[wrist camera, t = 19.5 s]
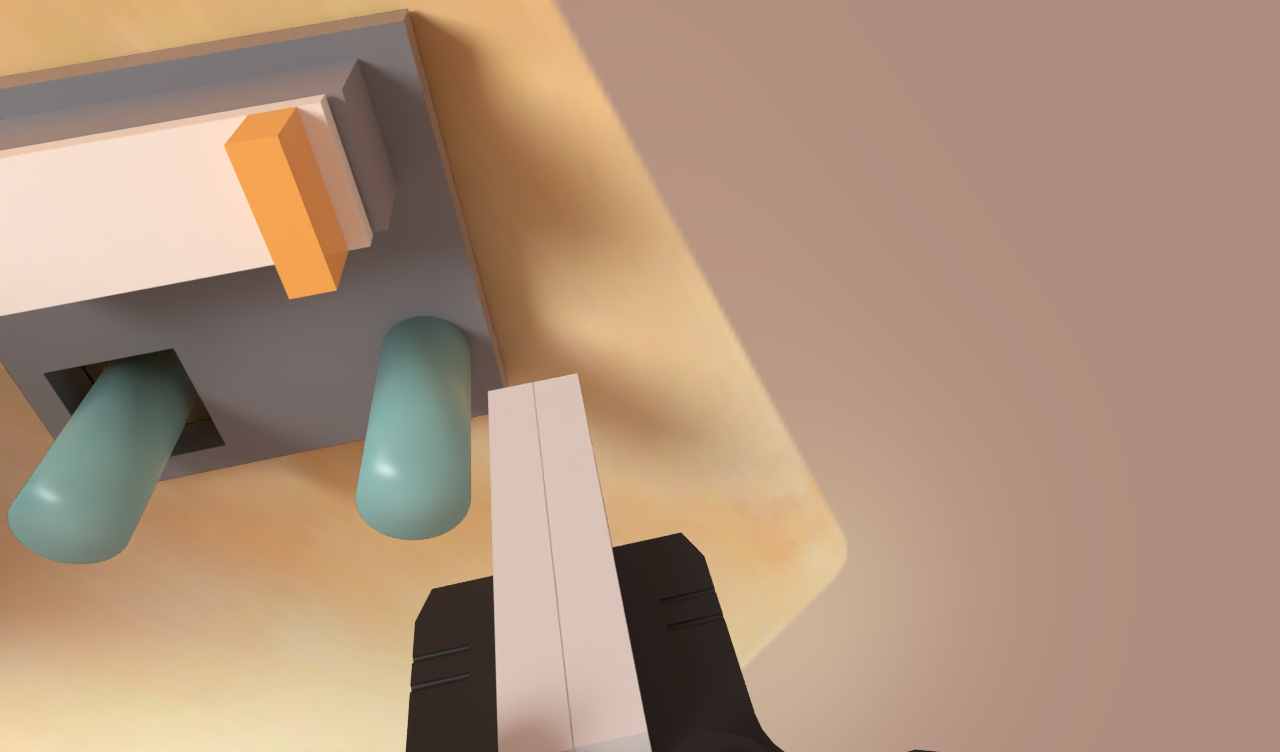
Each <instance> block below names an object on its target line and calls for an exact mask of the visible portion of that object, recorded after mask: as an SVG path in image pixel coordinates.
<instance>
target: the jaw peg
mask: <svg viewBox="0 0 1280 752" xmlns="http://www.w3.org/2000/svg"><path fill="white" fill-rule="evenodd" d="M198 397H199V394H198V393H197V391H196V389H195V387H194V385H193V383H192V381H191V380H190V378H189V376H188V374H187V372H186V370H185V368H184V367H183V365H182V363H181V361H180V359H179V357H178V355H177V354H176V352H175V350H174V349H173V348H171V349H166V350H161V351H156V352H150V353H145V354H140V355H135V356H130V357H125V358H119V359H114V360H110V361H109V363H108V364H107V366H106V367H105V369H104V370H103V372H102V373H101V375H100V376H99V378H98V379H97V380H96V382H95V383H94V385H93V386H92V388H91V389H90V391H89V392H88V394H87V395H86V396H85V398H84V399H83V401H82V402H81V404H80V405H79V407H78V408H77V410H76V411H75V413H74V414H73V415H72V417H71V418H70V420H69V421H68V423H67V424H66V426H65V427H64V429H63V430H62V431H61V433H60V434H59V436H58V437H57V439H56V440H55V442H54V443H53V445H52V446H51V448H50V449H49V450H48V452H47V453H46V455H45V456H44V458H43V459H42V461H41V462H40V464H39V465H38V467H37V468H36V469H35V471H34V472H33V474H32V475H31V477H30V478H29V480H28V481H27V483H26V484H25V485H24V487H23V488H22V490H21V491H20V493H19V494H18V496H17V497H16V499H15V500H14V502H13V503H12V505H11V506H10V509H9V512H8V523H9V526H10V529H11V531H12V533H13V534H14V536H15V537H16V538H17V539H18V540H19V541H20V542H21V543H22V544H23V545H24V546H25V547H27V548H28V549H30V550H31V551H33V552H35V553H36V554H38V555H41V556H43V557H45V558H48V559H51V560H55V561H58V562H64V563H71V564H90V563H97V562H101V561H105V560H107V559H110V558H112V557H114V556H116V555H117V554H119V553H120V552H121V551H122V550H123V549H124V548H125V547H126V545H127V544H128V542H129V540H130V538H131V536H132V534H133V532H134V530H135V528H136V525H137V523H138V521H139V519H140V517H141V515H142V513H143V511H144V509H145V507H146V505H147V503H148V501H149V499H150V497H151V494H152V492H153V490H154V488H155V486H156V484H157V482H158V480H159V478H160V476H161V474H162V472H163V470H164V468H165V466H166V463H167V461H168V459H169V457H170V455H171V453H172V451H173V449H174V447H175V445H176V443H177V441H178V439H179V437H180V435H181V432H182V430H183V428H184V426H185V424H186V422H187V420H188V418H189V416H190V414H191V412H192V410H193V408H194V406H195V404H196V402H197V399H198Z"/></svg>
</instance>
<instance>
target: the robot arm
mask: <svg viewBox="0 0 1280 752" xmlns="http://www.w3.org/2000/svg"><path fill="white" fill-rule="evenodd" d="M488 412H489V446H490V481H491V516H492V551H493V576H490V577H485V578H480V579H476V580H471V581H467V582H462V583H457V584H453V585H448V586H444V587H439V588H434V589H432V590H431V592H430V594H429V596H428V598H427V600H426V602H425V604H424V606H423V608H422V610H421V612H420V614H419V616H418V618H417V619H416V621H415V631H414V644H413V661H414V663H412V672H411V690H412V692H410V700H409V714H408V728H407V742H406V752H784V751H783V750H781V749H780V748H779V747H777V746H776V745H775V744H774V743H773V742H772V741H771V740H770V738H769V737H768V736H767V735H766V734H765V732H764V731H763V730H762V728H761V726H760V724H759V722H758V719H757V717H756V715H755V713H754V709H753V706H752V703H751V700H750V697H749V694H748V691H747V688H746V685H745V681H744V678H743V675H742V672H741V669H740V666H739V663H738V660H737V657H736V653H735V650H734V647H733V644H732V641H731V638H730V635H729V632H728V629H727V625H726V622H725V619H724V618H723V613H722V610H721V607H720V604H719V601H718V597H717V594H716V593H715V589H714V585H713V582H712V579H711V576H710V573H709V569H708V566H707V563H706V560H705V557H704V555H703V554H702V553H701V552H700V551H699V550H698V549H697V548H696V547H695V546H694V545H693V544H692V543H691V542H690V541H689V540H688V539H687V538H686V537H685V536H684V535H683V534H682V533H677V534H672V535H668V536H663V537H659V538H654V539H649V540H645V541H640V542H636V543H631V544H626V545H622V546H617V547H613V545H612V540H611V535H610V530H609V525H608V520H607V515H606V510H605V505H604V499H603V494H602V490H601V485H600V480H599V475H598V470H597V465H596V461H595V456H594V451H593V446H592V441H591V436H590V432H589V427H588V422H587V417H586V412H585V407H584V403H583V398H582V393H581V388H580V383H579V378H578V374H577V373H576V374H571V375H566V376H561V377H556V378H551V379H546V380H541V381H536V382H531V383H526V384H522V385H517V386H512V387H507V388H502V389H497V390H492V391H488ZM909 752H934V751H924V750H913V751H909Z"/></svg>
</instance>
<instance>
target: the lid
mask: <svg viewBox="0 0 1280 752" xmlns="http://www.w3.org/2000/svg"><path fill="white" fill-rule="evenodd" d="M372 237H373V233H372V230H371V227H370V225H369V222H368V219H367V216H366V213H365V210H364V207H363V204H362V201H361V198H360V195H359V192H358V189H357V186H356V183H355V181H354V178H353V175H352V172H351V169H350V166H349V163H348V160H347V157H346V154H345V151H344V148H343V145H342V142H341V140H340V137H339V134H338V131H337V128H336V125H335V122H334V119H333V116H332V113H331V110H330V107H329V104H328V101H327V98H326V96H325V94H322V95H317V96H311V97H305V98H299V99H294V100H288V101H282V102H277V103H271V104H265V105H259V106H254V107H248V108H242V109H236V110H231V111H225V112H219V113H213V114H208V115H202V116H196V117H190V118H185V119H179V120H173V121H167V122H162V123H156V124H150V125H145V126H139V127H133V128H127V129H122V130H116V131H110V132H104V133H99V134H93V135H87V136H81V137H76V138H70V139H64V140H58V141H53V142H47V143H41V144H35V145H30V146H24V147H18V148H13V149H7V150H1V151H0V316H3V315H9V314H14V313H19V312H25V311H30V310H35V309H41V308H46V307H51V306H57V305H62V304H67V303H73V302H78V301H83V300H89V299H94V298H99V297H105V296H110V295H115V294H120V293H126V292H131V291H136V290H142V289H147V288H152V287H158V286H163V285H168V284H174V283H179V282H184V281H190V280H195V279H200V278H206V277H211V276H216V275H222V274H227V273H232V272H238V271H243V270H248V269H254V268H259V267H264V266H270V265H275V267H276V269H277V272H278V274H279V276H280V279H281V281H282V283H283V286H284V288H285V290H286V293H287V295H288V297H289V299H294V298H299V297H305V296H310V295H315V294H320V293H326V292H331V291H336V290H337V288H338V285H339V282H340V278H341V275H342V271H343V268H344V265H345V261H346V258H347V254H348V251H349V250H355V249H360V248H365V247H370V245H371V241H372Z"/></svg>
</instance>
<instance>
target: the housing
mask: <svg viewBox="0 0 1280 752" xmlns="http://www.w3.org/2000/svg"><path fill="white" fill-rule="evenodd" d="M322 94H325V96H326V98H327V101H328V104H329V107H330V110H331V113H332V116H333V119H334V122H335V125H336V128H337V131H338V134H339V137H340V140H341V142H342V145H343V148H344V151H345V154H346V157H347V160H348V163H349V166H350V169H351V172H352V175H353V178H354V181H355V183H356V186H357V189H358V192H359V195H360V198H361V201H362V204H363V207H364V210H365V213H366V216H367V219H368V222H369V225H370V227H371V230H372V233H373V237H372V241H371V245H370V247H365V248H360V249H355V250H349V251H348V254H347V258H346V261H345V265H344V268H343V271H342V275H341V278H340V282H339V285H338V288H337V290H336V291H331V292H326V293H320V294H315V295H310V296H305V297H299V298H294V299H289V297H288V295H287V293H286V290H285V288H284V286H283V283H282V281H281V279H280V276H279V274H278V272H277V269H276V267H275V265H270V266H264V267H259V268H254V269H248V270H243V271H238V272H232V273H227V274H222V275H216V276H211V277H206V278H200V279H195V280H190V281H184V282H179V283H174V284H168V285H163V286H158V287H152V288H147V289H142V290H136V291H131V292H126V293H120V294H115V295H110V296H105V297H99V298H94V299H89V300H83V301H78V302H73V303H67V304H62V305H57V306H51V307H46V308H41V309H35V310H30V311H25V312H19V313H14V314H9V315H3V316H0V361H1V363H2V364H3V366H4V367H5V369H6V370H7V371H8V373H9V374H10V376H11V377H12V379H13V380H14V382H15V383H16V385H17V386H18V387H19V389H20V390H21V392H22V393H23V395H24V396H25V398H26V399H27V400H28V402H29V403H30V405H31V406H32V408H33V409H34V411H35V412H36V413H37V415H38V416H39V418H40V419H41V421H42V422H43V424H44V425H45V426H46V428H47V429H48V431H49V432H50V434H51V435H52V437H53V438H54V439H55V440H56V439H57V437H58V436H59V434H60V433H61V431H62V430H63V429H64V427H65V426H66V424H67V423H68V421H69V420H70V418H71V417H72V415H73V414H74V413H75V411H76V410H77V408H78V407H79V405H80V404H81V402H82V401H83V399H84V398H85V396H86V395H87V394H88V392H89V391H90V389H91V388H92V386H93V385H92V383H91V381H90V380H89V378H88V377H87V375H86V373H85V372H84V370H83V369H82V367H81V366H83V365H88V364H94V363H99V362H104V361H109V360H114V359H119V358H125V357H130V356H135V355H140V354H145V353H150V352H156V351H161V350H166V349H171V348H174V350H175V352H176V354H177V355H178V357H179V359H180V361H181V363H182V365H183V367H184V368H185V370H186V372H187V374H188V376H189V378H190V380H191V381H192V383H193V385H194V387H195V389H196V391H197V393H198V394H199V396H200V398H201V400H202V402H203V404H204V406H205V407H206V409H207V411H208V413H209V415H210V417H211V418H212V420H208V421H203V422H198V423H193V424H188V425H185V426H184V428H183V430H182V432H181V435H180V437H179V439H178V441H177V443H176V445H175V447H174V449H173V451H172V453H171V455H170V457H169V459H168V461H167V463H166V466H165V468H164V470H163V472H162V474H161V476H160V478H159V480H158V481H162V480H167V479H172V478H177V477H182V476H187V475H192V474H196V473H201V472H206V471H211V470H216V469H221V468H226V467H231V466H236V465H241V464H245V463H250V462H255V461H260V460H265V459H270V458H275V457H280V456H285V455H290V454H294V453H299V452H304V451H309V450H314V449H319V448H324V447H329V446H334V445H339V444H343V443H348V442H353V441H358V440H363V439H365V445H364V451H363V456H362V462H361V468H360V473H359V479H358V485H357V491H356V506H357V509H358V511H359V513H360V515H361V517H362V518H363V519H364V521H365V522H366V523H367V524H368V525H369V526H371V527H372V528H373V529H375V530H377V531H378V532H380V533H382V534H384V535H387V536H390V537H393V538H398V539H404V540H423V539H429V538H433V537H436V536H439V535H442V534H444V533H446V532H448V531H450V530H451V529H453V528H454V527H455V526H457V525H458V524H459V523H460V522H461V521H462V520H463V518H464V517H465V515H466V514H467V512H468V509H469V506H470V501H471V417H476V416H481V415H486V414H489V412H488V391H492V390H497V389H502V388H507V387H508V380H507V376H506V373H505V369H504V365H503V361H502V358H501V354H500V350H499V346H498V343H497V339H496V335H495V332H494V328H493V324H492V320H491V317H490V313H489V309H488V305H487V302H486V298H485V294H484V291H483V287H482V283H481V279H480V276H479V272H478V268H477V264H476V261H475V257H474V253H473V250H472V246H471V242H470V238H469V235H468V231H467V227H466V223H465V220H464V216H463V212H462V209H461V205H460V201H459V197H458V194H457V190H456V186H455V182H454V179H453V175H452V171H451V168H450V164H449V160H448V156H447V153H446V149H445V145H444V141H443V138H442V134H441V130H440V127H439V123H438V119H437V115H436V112H435V108H434V104H433V100H432V97H431V93H430V89H429V85H428V82H427V78H426V74H425V71H424V67H423V63H422V59H421V56H420V52H419V48H418V44H417V41H416V37H415V33H414V30H413V26H412V22H411V18H410V15H409V11H408V9H403V10H397V11H391V12H385V13H379V14H373V15H367V16H361V17H355V18H349V19H343V20H338V21H332V22H326V23H320V24H314V25H308V26H302V27H296V28H290V29H284V30H278V31H272V32H266V33H260V34H254V35H248V36H242V37H236V38H231V39H225V40H219V41H213V42H207V43H201V44H195V45H189V46H183V47H177V48H171V49H165V50H159V51H153V52H147V53H141V54H135V55H129V56H124V57H118V58H112V59H106V60H100V61H94V62H88V63H82V64H76V65H70V66H64V67H58V68H52V69H46V70H40V71H34V72H28V73H22V74H17V75H11V76H5V77H0V151H1V150H7V149H13V148H18V147H24V146H30V145H35V144H41V143H47V142H53V141H58V140H64V139H70V138H76V137H81V136H87V135H93V134H99V133H104V132H110V131H116V130H122V129H127V128H133V127H139V126H145V125H150V124H156V123H162V122H167V121H173V120H179V119H185V118H190V117H196V116H202V115H208V114H213V113H219V112H225V111H231V110H236V109H242V108H248V107H254V106H259V105H265V104H271V103H277V102H282V101H288V100H294V99H299V98H305V97H311V96H317V95H322Z"/></svg>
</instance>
